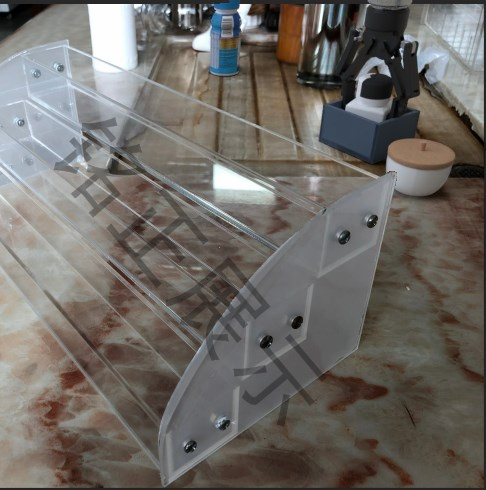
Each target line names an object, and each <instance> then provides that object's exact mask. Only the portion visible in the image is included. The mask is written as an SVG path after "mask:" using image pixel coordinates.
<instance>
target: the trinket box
mask: <svg viewBox="0 0 486 490" xmlns="http://www.w3.org/2000/svg"><path fill="white" fill-rule="evenodd" d="M455 159H456V153H455V152H454V150H453V149H452V148H451V147H449V146H447V145H445V144H443V143H440V142H439V141H438V142H437V141H435V140H429V139H426V138H425V139H424V138H414V139H401V140H397V141H394V142H393V143H391V144H390V145H389V147H388V155H387V159H386V160H385V161H386V163H385V174H386V173H387V172H389V171H395V172H397V181H396V186H395V189H394V191H397V192H398V193H400V194H403V195H406V196H411V197H428V196H431V195H433V194H434V193H437V191H439V190H440V189H441V188H442V187H443V186H444V184H446V182H447V181H448V178H449V176H450V174H451V171H452V168H453V164H454V163H455Z"/></svg>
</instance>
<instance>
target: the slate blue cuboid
mask: <svg viewBox="0 0 486 490" xmlns="http://www.w3.org/2000/svg"><path fill="white" fill-rule="evenodd" d="M355 98H356V93H355V95H354V99H355ZM341 104H342V98H339V99H335V100H333V101H329V102H325V103H323V104H322V111H321V117H320V118H321V119H320V127H319V133H318V134H319V135H318V142H320V143H322V144H325V145H327V146H329V147H332V148H333V149H336V150H337V151H338V150H339V152H343V153H345V154H347V155H350V156H351V157H354V158H357V159H359V160H361V161H363V162H366V163H368V164H371V165H374V164H376V163H380V162H383V161H384V160H387V155H388V147H389V145H390V144H391V143H393V142H394V141H397V140H401V139H416V133H417V129H418V124H419V120H420V119H419V118H420V115H421V110H419V109H416V108H413V107H410V106H407V109H406V113H405V114H404V115H402V116H398V117H395V118H392V119H389V120H386V121H383V122H380V123H378V122H375V121H372V120H370V119H367V118H364V117H361V116H359V115H356V114H353V113H351V112H348V111H345V110H343V109H341Z"/></svg>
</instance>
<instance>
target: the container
mask: <svg viewBox="0 0 486 490" xmlns="http://www.w3.org/2000/svg"><path fill="white" fill-rule="evenodd" d="M393 90H394V85H393V82H392V79H391V76H390V75H388V74H384V73H380V72H370V73H366V74H365V73H364V74H361V76H360V77H359V78H358V80H357V85H356V91H355V94H356V98H355V99H354V100H352V101H351V102H350V103H348V104H347V105H346V109H345V111H348V112H351V113H353V114H356V115H359V116H361V117H364V118H367V119H370V120H372V121H375V122H378V123H380V122H383V121H386V120H389V116H390V111H391V106H392V100H393V99H392V94H393Z"/></svg>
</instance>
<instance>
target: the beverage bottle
mask: <svg viewBox="0 0 486 490" xmlns="http://www.w3.org/2000/svg"><path fill="white" fill-rule="evenodd" d="M229 1H230V2H229V3H220V4H214V3H213V8H214V10H215V11H214V13H213V15H212V17H211V19H210V26H211V28H210V31H209V37H210V38H209V39H210V40H209V41H210V42H209V43H210V44H209V45H210V46H209V47H210V49H209V72H210V73H211V74H212V75H213V76H218V77H233V76H235V75H237V74H239V72H240V67H241V66H240V60H241V43H242V35H243V31H242V30H243V29H241V26H242V25H243V21H242V17H241V15H240V13H239V11H238V10H240V7H241V0H229Z"/></svg>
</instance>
